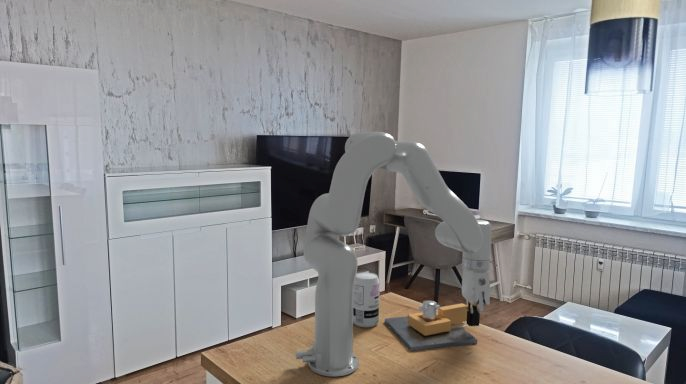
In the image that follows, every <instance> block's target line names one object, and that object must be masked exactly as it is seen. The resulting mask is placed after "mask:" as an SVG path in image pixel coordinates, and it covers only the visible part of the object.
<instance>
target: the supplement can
mask: <svg viewBox="0 0 686 384" xmlns="http://www.w3.org/2000/svg"><path fill="white" fill-rule="evenodd" d="M380 285H381V283H380V278H379V277H378V274H377V273H374V272H367V271H366V272H357V273H356V278H355V284H354V298H353V325H355V326H357V327H359V328H366V329H367V328H372V327H375V326H377V325H378V323H379V322H380V321H379V319H380V292H381V291H380V289H381V288H380Z"/></svg>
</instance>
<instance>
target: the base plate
mask: <svg viewBox="0 0 686 384" xmlns="http://www.w3.org/2000/svg"><path fill="white" fill-rule="evenodd" d="M440 307H441V305H439V304H437V302H436V301H434V300H424V301H422V306H421V305H420V306H418V310H419V311H420V312H422V320H424V321H426V322H432V321H436V312H437V311H438V309H440ZM384 323H385V325H386V326H387V327H388V328H389V327H390V328H389V329H390V330H391V331H392V332H393V333H394V334H395V335H396V336H397V338H398V339H399V340H400V342H402V344H404V345H405V346H406V348H408V350H409V349H410V350H411V351H410V350H409V351H410V352H417V350H418V351H425V349H427V350H433V348H435V349H442V347H443V348H450V347H459V346H467V345H475V344H476V345H477V344H478V339H477V338H476V337H475V336H474V335H472V334H471V333H470V332H468V331H467V330H466V329H465V328H467V327H468V324H466V323H465V322H460V323H455V324H451V331H446V332H441V333H436V334H431V335H426V336H425V335H423V334H422V333H420V332H419V331H417V330H416V329H414V328H413V327H411V326H410V325H408V315H407V316H398V317H390V318H389V317H388V318H387V317H386V318H384Z"/></svg>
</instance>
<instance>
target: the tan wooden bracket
mask: <svg viewBox="0 0 686 384" xmlns="http://www.w3.org/2000/svg"><path fill="white" fill-rule="evenodd" d="M467 311H468V310H467V304H465V303H457V304H456V303H455V304H449V305H445V306H440V309H437V311H436V321H432V322H426V321H424V320H422V312H423V311H420V312H414V313H410V314H407V316H408V325H410V326H411V327H413V328H414V329H416V330H417V331H419V332H420V333H422V334H423V335H425V336H426V335H431V334H436V333H441V332H446V331H451V324H455V323H460V322H463V323H465V322H467Z"/></svg>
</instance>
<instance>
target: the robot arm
mask: <svg viewBox="0 0 686 384" xmlns="http://www.w3.org/2000/svg"><path fill="white" fill-rule="evenodd" d="M344 151H345V152H344V153H343V155H342V156H341V157H340V159H339V160H338V162H337V163H336V165H335V168H334V170H333V174H332V179H331V184H330V187H329V191H328V193H323V194H321V195H320V196H318V197H317V198H316V199H315V200H314V201H313V203H312V205H311V207H310V210H309V214H308V218H307V225H306V230H305V237H304V243H303V257H304V261H305V262H306V263H307V265H308V266H309V267H311V269H313V270H314V271H316V272H317V276H318V277H317V282H316V286H315V292H314V344H311V348H308V349H307V350H298V351H297V350H296V351H295V358H296V359H295V360H302V363H303V364H304V363H308V367H309V370H311V371H312V372H314V373H315V374H318V375H320V376H324V377H342V376H347V375H350V374H352V373H354V372H355V371H356V370H357V369H358V368H359V358H358V357H357V355H356V354H355V353H353V345H354V323H353V298H354V284H355V278H356V274H357V273H358V265H359V264H358V259H357V254H356V253H355V251H354V250H353V248H352V247H351V246H350V245H349V244H347V243H345V242H343V241H342V240H340V237H349V236H351V235H353V234H354V233H355V232H356V231H357V230H358V228H359V225H360V221H361V218H362V217H361V216H362V211H363V204H364V198H365V193H366V190H367V186H368V183H369V180H370V178H371V176H372V175H373V173H375V172H376V170H381V171H386V172H392V173H399V174H401V175H402V176H403V178H404V179H405V181H406V183H407V184H408V186H409V188H410V189H411V191H412V193H413V195H414V197H415V198H416V200H417V202H418V203H419V204H420V205H421V206H422V207H424V208H425V209H426V210H428V211H429V212H430V213H432V214H434V215H435V216H437V217H438V218H439V219H441V220H442V222H440V223H438V225H437V226H436V228H435V231H434V235H435V239H436V240H437V241H438V242H439V244H441V245H443V246H444V247H448V248H450V249H454V250H457V251H459V252H461V253H462V259H461V261H462V262H461V264H462V265H461V267H462V269H463V270H462V279H461V295H462V297H463V298H464V299H465V300H466V305H467V321H466V325H467V326H468V327H479V326H480V320H481V319H480V316H481V313H482V312H484V305H485V306H490V302H491V301H490V300H491V283H490V282H491V281H490V265H491V261H490V260H491V246H492V245H491V243H492V223H490V222H489V221H487V220H484V219H476V217H475V214H474V213H473V212H472V211H471V209H470V208H469V207H468V206H467V204H465V203H464V201H463V200H461V199H460V197H458V196H457V194H456V193H454V192H453V191H452V189H450V188H449V187H448V185H447V184H446V182H445V180H444V178H443V177H442V175H441V173H440V171H439V170H438V168H437V166H436V163H435V162H434V160H433V159H432V156H431V154H430V153H429V151H428V149H427V148H426V147H425V146H424V145H423V144H421V143H419V142H418V141H417V142H415V141H399V140H398V141H397V140H395V138H394V136H392V135H391V134H389V133H387V132H383V131H359V132H355V133H353V134H351V135H349V137H348V138H347V139H346V142H345V145H344Z"/></svg>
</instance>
